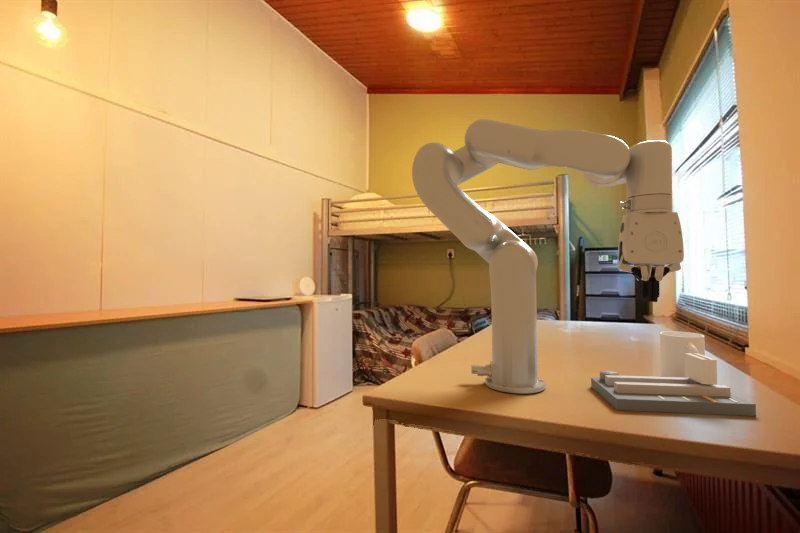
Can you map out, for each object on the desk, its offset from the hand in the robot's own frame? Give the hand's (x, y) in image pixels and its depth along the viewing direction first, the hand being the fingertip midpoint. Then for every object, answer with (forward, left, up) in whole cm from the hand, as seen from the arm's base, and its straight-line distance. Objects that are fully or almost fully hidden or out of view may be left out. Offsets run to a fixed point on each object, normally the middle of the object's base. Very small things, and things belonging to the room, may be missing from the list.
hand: (649, 301), depth 76 cm
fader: (+9, 0, -17) cm, 19 cm away
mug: (+13, +14, -19) cm, 27 cm away
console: (+2, 0, -19) cm, 19 cm away
